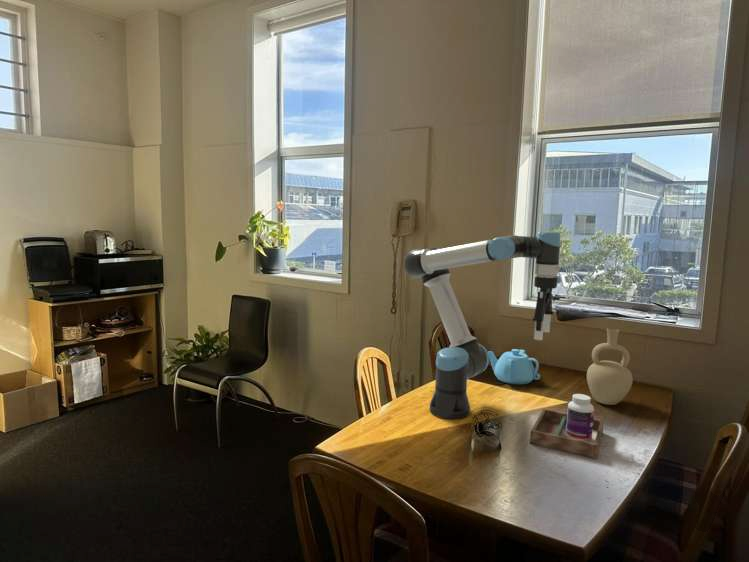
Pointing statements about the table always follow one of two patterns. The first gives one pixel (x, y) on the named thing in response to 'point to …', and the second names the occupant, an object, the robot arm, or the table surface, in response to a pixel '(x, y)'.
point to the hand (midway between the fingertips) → (541, 335)
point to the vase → (609, 373)
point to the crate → (564, 435)
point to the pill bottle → (580, 418)
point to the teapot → (514, 367)
